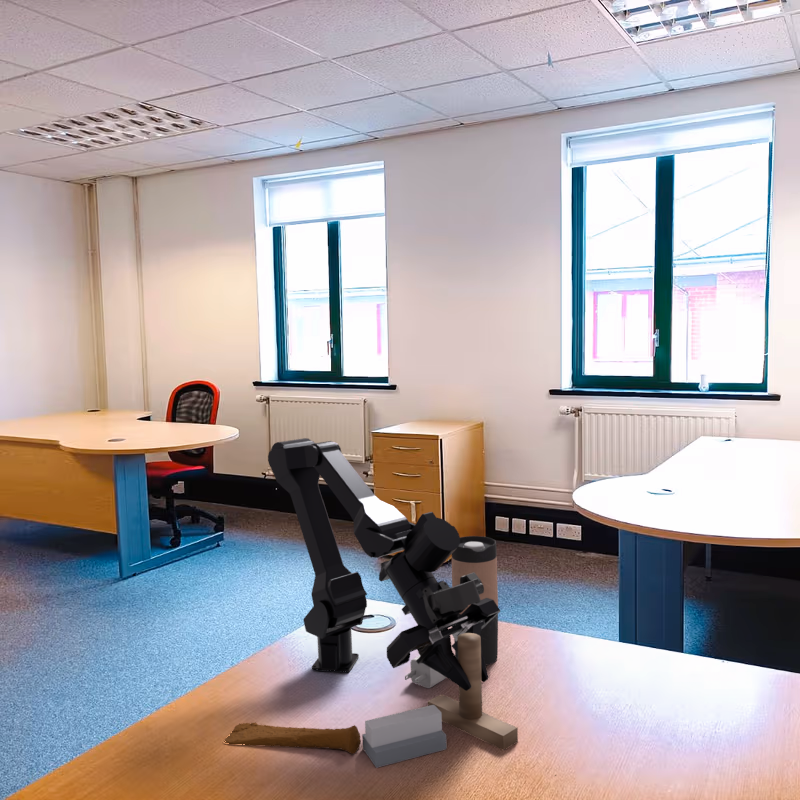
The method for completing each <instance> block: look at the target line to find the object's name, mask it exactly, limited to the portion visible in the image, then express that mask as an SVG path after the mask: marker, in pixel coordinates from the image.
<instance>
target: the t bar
mask: <svg viewBox="0 0 800 800" xmlns="http://www.w3.org/2000/svg"><path fill="white" fill-rule="evenodd" d="M457 641H458V662H459V663H460V665H461V667H462V669H463V670H464V672H465V674H466V676H467V677H468V680H469V682H470V684H471V688H470V689H469V690H468V691H465V690H464V689H462V688H461V687H459V686H458V700H456V699H454V698H452V697H449V696H447V695H446V694H443V693H441V694H439V695H437V696H435V697H433V698H431V699H429V700H427V706H430V705H435V706H436V707H437V708H438V709H439V710H440V711H441V714H442V723H445V724H448V725H449V726H451V727H454V728H456V729H458V730H460V731H462V732H463V733H466V734H468V735H470V736H472V737H475V738H477V739H479V740H480V741H483V742H485V743H487V744H488V745H489V744H490V745H491V746H493V747H495V748H497V749H499V750H502V751H505V750H507V749H509V748H510V747H512V746H513V745H515V744H516V743H518V742H519V740H518V739H519V738H518V735H519V734H518V733H519V732H518V727H517V726H515V725H513V724H511V723H508V722H507V721H503V720H502V719H499V718H497V717H494V716H493V715H490V714H488V713H486V712H483V690H482V689H483V686H482V685H483V682H482V677H481V637H480V636H479V635H478V634H474V633H464V634H460V635H459V636H458V637H457Z"/></svg>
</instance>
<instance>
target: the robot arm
mask: <svg viewBox="0 0 800 800" xmlns="http://www.w3.org/2000/svg"><path fill="white" fill-rule="evenodd" d="M341 449H342V448H341V446H340V445H339V443H337V442H336V441H332V440H329V441H328V440H327V441H321V442H315V441H314V440H311V439H310V438H307V437H306V438H305V437H304V438H298V439H292V440H284V441H283V440H282V441H278V442H275V443H274V444H273V445H272V446H271V449H270V451H269V452H268V455H267V461H268V465H269V467H270V469H271V471H272V474H273V476H274V479H275V480H276V483H277V484H278V485H279V486H281V487H282V488H283V489H284V490H285V491H286V492H288V494H289V496H290V498H291V500H292V504H293V508H294V511H295V513H296V518H297V521H298V524H299V527H300V530H301V533H302V536H303V539H304V543H305V546H306V549H307V552H308V556H309V560H310V562H311V566H312V569H313V572H314V576H315V577H314V581H313V585H312V589H311V599H312V604H313V606H312V608H311V609H310V610H309V612H308V613H307V614H306V615H305V616H304V617H303V624H304V629H305V632H306V633H309V634H310V635H313V636H315V637H317V655H318V658H316V660H315V661H314V663H313V664H312V666H311V670H312V671H320V672H321V671H322V672H335V673H350V672H351V669H352V668H354V665H355V663H356V662H357V660H358V659H359V657H360V656H359V653H355V652H354V653H353V640H352V639H353V638H352V636H353V635H352V628H354V627H356V626H361V625H363V620H364V618H365V613H366V608H367V607H368V601H367V597H366V596H367V595H368V593H367V591H366V589H365V588H364V585H363V580H362V577H361V575H360V573H359V572H358V571H354V572H351V571H350V570H349V569H348V568H347V567H346V566H345V565H344V562H343V559H342V556H341V555H342V554H341V553H340V549H339V546H338V543H337V540H336V537H335V534H334V531H333V527H332V525H331V521H330V519H329V516H328V515H329V514H328V512H327V509H326V506H325V502H324V499H323V496H322V494H321V490H320V485H319V482H320V479H321V478H322V479H323V481H324V483H326V485H327V486H328V487H329V489H330V490H331V491H332V493H333V494H334V495H335V497H336V499H338V501H339V502H340V504H341V505H342V506H343V508H344V509H345V510H346V511H347V513H348V514H349V515H350V518H351V519H352V521H353V534H354V536H355V538H356V540H357V541H358V544H359V545H360V548H361V549H362V550H363V551H364V553H365V554H366V555H367V556H368V557H370V558H373V559H375V558H376V559H377V558H381V557H385V556H388V555H391V554H394V555H393V556H392V557H391V558H390V559H389V560H386V561H383V562H380V563H381V564H380V571H379V573H378V580H379V582H383V581H387V580H390V581H391V583H392V584H393V586H394V588H395V590H396V591H397V593H398V595H399V596H400V598H401V600H402V601H403V603H404V606H403V607H402V608H401V611H402V612H403V614H404V616H407V615H411V616H412V618H413V619H414V621H415V623H416V624H417V625H414V626H412V627H410V628H408V629H404V630H402V631H401V632H400V633H398V635H397V636H396V637H395V638H394V639H393V640H392V641H391V642H390V643H389V644H388V646H387V647H386V658H387V661H389V664H390V666H391V668H393V669H395V668H398V667H401V666H403V665H405V664H407V663H408V662H409V661H410V659H411V653H412V652H415V651H416V650H417V653H418V654H419V655H418V656H420V657H419V658H418V659H417V660H416V662H417V663H418V664H420V663H423V664H425V665H426V666H428V667H430V668H432V669H433V670H435V671H437V672H439V673H440V674H442V675H443V676H445V677H446V678H445V679H448V680H449V681H451V682H453V684H455V685H457V686H458V688H459V687H461V688H462V689H464V690H465V691H468V690H469V689H470V688H471V684H470V682H469V680H468V677H467V676H466V674H465V672H464V670H463V669H462V667H461V665H460V663H459V662H458V660H457V658H456V657H455V651H456V652H457V653H458V641H457V637H458V636H459V635H460V634H464V633H474V634H478V635H479V636H480V634H481V629H483V628H484V627H485V626H486V625H487V624H488V623H489V622H490V621H491V620H492V619H493V618H494V617H495V616H496V615H497V614H498V615H499V613H500V612H501V609H500V607H499V605H498V606H497V605H496V603H495V602H494V600H493V599H489V598H485V599H482V600H481V599H480V596H479V595H480V594H482V593H483V592H484V586H483V584H482V582H481V580H480V579H479V577H478V576H477V575H476V574H475V572H474V573H471V574H468V575H465V576H462V577H460V584H459V585H457V586H454V587H452V586H451V587H450V585H449V584H448V582H447V581H444V580H441V581H438V580H437V579H436V577H435V576H434V574H433V573H434V572H437V571H438V570H439V569H440V568H441V567H442V566H443V564H444V563H445V562H446V561H447V560H448V559H449V558H450V557H451V556H452V553H453V552H454V551H455V550H456V549H457V548H458V546H459V544H460V534H459V531H458V529H457V528H456V527H455V526H454V525H452V524H451V523H450V522H448V521H447V520H445V519H443V518H439V517H437V516H436V515H435V513H434V512H433V511H428V512H425V513H422V514H421V515H420V516H419V517H418V519H417V521H416V523H413V522H410V521H409V520H408V518H407V517H406V516H405V515H404V514H403V513H401V512H400V511H399V510H398V508H396V507H395V506H394V505H392V504H389V503H387V502H385V501H383V500H381V499H380V498H378V497H377V496H376V495H375V493H374V492H373V491H372V489H371V488H370V487H369V486H368V485H367V484H366V482H365V481H364V479H363V478H362V477H361V476H360V474H359V473H358V472H357V470H355V468H354V467H353V466H352V464H351V463H350V462H349V460H348V459H347V458H346V457H345V455H344V454H343V453H342V450H341ZM468 605H470V606H469V607H468ZM467 607H468V608H467ZM465 608H467V609H466V610H465V611H464V612H463V610H464V609H465ZM461 612H463V613H462V614H461V615H460V616H458V614H459V613H461ZM451 636H452V637H453V640H454V639H455V640H456V642H455V643H453V644H452V641H451V639H452V637H451ZM453 650H454V651H453ZM481 677H482V683H485V682H486V681H488V680H489V678H490V677H489V673H488V671H487V665H485V661H484V657H483V653H482V649H481Z"/></svg>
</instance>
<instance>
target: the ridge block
mask: <svg viewBox="0 0 800 800" xmlns="http://www.w3.org/2000/svg"><path fill="white" fill-rule="evenodd" d="M442 723H443V721H442V714H441V711H440V710H439V709H438V708H437V707H436V706H435V705H430V706H428V705H427V706H423V707H418V708H415V709H409V710H405V711H402V712H401V711H400V712H396V713H393V714H388V715H385V716H384V715H383V716H380V717H377V718H371V719H367V720H365V721H364V727H365V730H364V732H365V733H362V735H361V736H362V737H361V738H362V750H363V751H364V753H365V754H366V755H367V757H368V758H369V759H370V761H371V763H373V765H374V767H375V768H380V767H384V766H388V765H393V764H397V763H400V762H404V761H408V760H411V759H414V758H415V759H416V758H420V757H422V756H425V755H426V756H427V755H430V754H434V753H438V752H441V751H446V750H447V747H448V745H447V734H446V733H445V732H444V731H443V724H442Z"/></svg>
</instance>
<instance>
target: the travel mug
mask: <svg viewBox="0 0 800 800" xmlns="http://www.w3.org/2000/svg"><path fill="white" fill-rule="evenodd" d="M497 560H498V559H497V541H496V540H495V539H493V538H492V537H487V536H482V535H481V536H480V535H469V536H466V535H465V536H461V537H460V544H459V546H458V548H457V549H456V550H455V551H454V552H453V553H452V554H451V587H454V586H457V585H459V584H460V577H462V576H465V575H468V574H471V573H474V572H475V574H476V575H477V576H478V577H479V579H480V580H481V582H482V584H483V586H484V592H483V593H482V594H480V595H479V596H480V599H481V600H482V599H485V598H489V599H493V600H494V602H495V603H496V605H497V606H498V607H499V597H498V596H499V593H498V589H499V588H498V561H497ZM469 606H470V605H468V607H469ZM468 607H467V608H468ZM467 608H465V609H464V610H463V612H464V611H465V610H466V609H467ZM463 612H461V613H459V614H458V616H460V615H461V614H462V613H463ZM498 636H499V613H498V614H497V615H496V616H495V617H494V618H493V619H492V620H491V621H490V622H489V623H488V624H487V625H486V626H485V627H484V628H483V629H481V634H480V637H481V649H482V653H483V657H484V661H485V665H486V666H489V665H493V663H496V662H497V660H498V654H499V653H498V648H499V646H498V645H499V644H498V642H499V637H498ZM453 640H454V643H455V642H456V640H455V639H454V638H453ZM454 643H453V644H454ZM454 655H455V657H456V658H457V660H458V653H457V652H456V651H455V650H454Z"/></svg>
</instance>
